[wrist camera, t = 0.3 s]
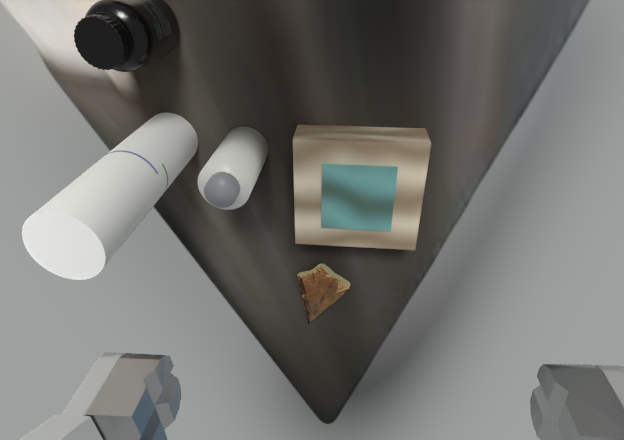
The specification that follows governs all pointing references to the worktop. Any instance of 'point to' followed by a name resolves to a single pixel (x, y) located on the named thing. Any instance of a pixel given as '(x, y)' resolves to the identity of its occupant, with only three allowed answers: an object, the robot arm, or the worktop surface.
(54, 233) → the cylindrical container
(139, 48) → the supplement bottle
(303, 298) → the shard
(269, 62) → the worktop surface
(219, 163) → the white bottle
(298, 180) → the birch plinth
